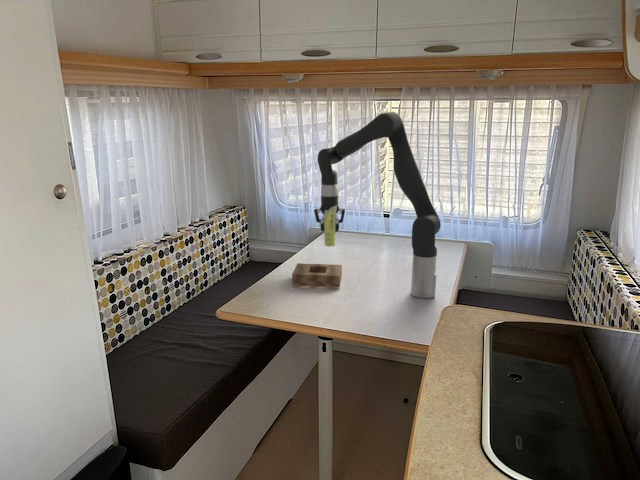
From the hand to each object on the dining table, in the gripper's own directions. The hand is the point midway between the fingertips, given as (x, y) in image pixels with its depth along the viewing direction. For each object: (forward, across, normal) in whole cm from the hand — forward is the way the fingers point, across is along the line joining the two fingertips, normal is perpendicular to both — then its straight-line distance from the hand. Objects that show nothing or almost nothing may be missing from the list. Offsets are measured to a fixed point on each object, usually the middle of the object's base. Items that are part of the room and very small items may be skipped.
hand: (329, 231), depth 214 cm
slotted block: (+20, -4, -13) cm, 24 cm away
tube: (+7, 0, 0) cm, 7 cm away
